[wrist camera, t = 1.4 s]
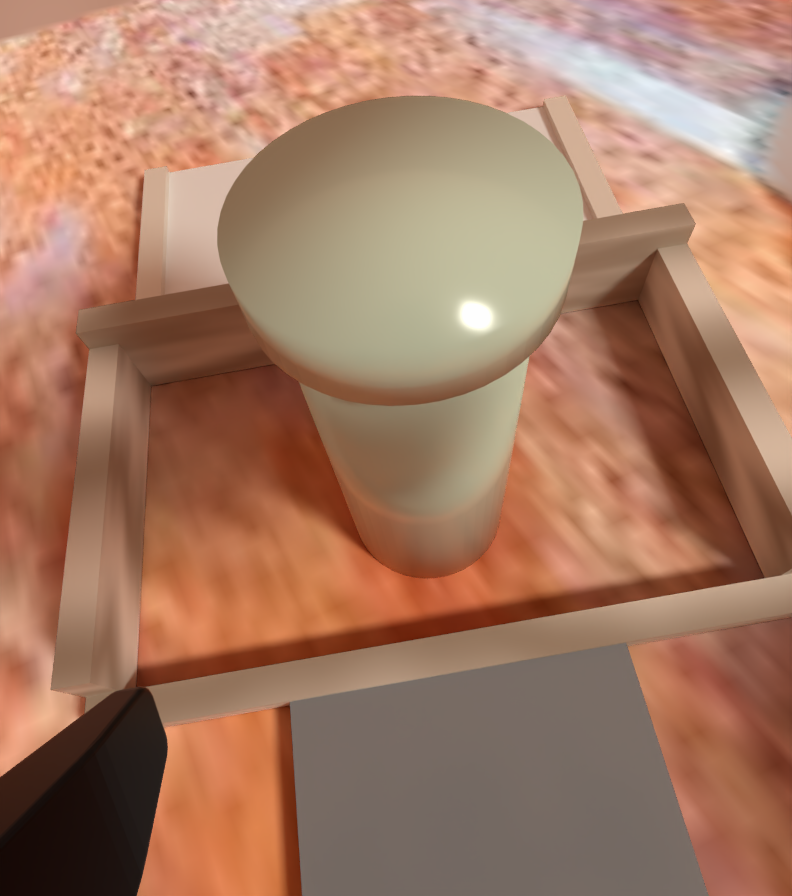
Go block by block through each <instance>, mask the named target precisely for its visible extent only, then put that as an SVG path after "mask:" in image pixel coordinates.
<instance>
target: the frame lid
mask: <svg viewBox="0 0 792 896" xmlns="http://www.w3.org/2000/svg"><path fill="white" fill-rule="evenodd" d="M507 114H510V115H512V116H514V117H516V118H518V119H520V120H522V121H524V122H525V123H527V124H528V125H530V126H531V127H533V128H534V129H536V130H537V131H539V132H540V133H541V134H542V135H544V136H545V137H546V138H547V139H548V140H549V141H551V142H552V143H553V144H554V145H555V147H556V148H557V149H558V150H559V151H560V152H561V153H562V154H563V156H564V157H565V159H566V160H567V162H568V163H569V165H570V166H571V168H572V170H573V171H574V174H575V176H576V179H577V181H578V184H579V186H580V191H581V195H582V200H583V221H585V220H591V219H596V218H602V217H608V216H613V215H619V214H623V213H622V211H621V209H620V207H619V205H618V203H617V200H616V198H615V196H614V194H613V192H612V190H611V188H610V186H609V184H608V182H607V180H606V178H605V176H604V174H603V172H602V169H601V167H600V165H599V163H598V161H597V159H596V157H595V155H594V153H593V151H592V149H591V147H590V145H589V143H588V141H587V138H586V136H585V134H584V132H583V130H582V128H581V126H580V124H579V122H578V120H577V118H576V116H575V114H574V112H573V110H572V107H571V105H570V103H569V101H568V99H567V97H566V96H560V97H554V98H549V99H544V101H543V107H537V108H532V109H526V110H521V111H515V112H509V113H507ZM252 159H253V158H249V159H244V160H238V161H232V162H227V163H221V164H215V165H210V166H204V167H199V168H193V169H187V170H182V171H176V172H169V170H168V168H167V166H165V167H159V168H153V169H148V170H145V172H144V186H143V200H142V214H141V228H140V242H139V256H138V270H137V284H136V298H135V300H138V299H144V298H149V297H155V296H161V295H166V294H172V293H178V292H183V291H189V290H194V289H200V288H206V287H211V286H217V285H223V284H228V281H227V278H226V276H225V273H224V271H223V268H222V265H221V263H220V258H219V252H218V247H217V227H218V222H219V217H220V212H221V209H222V207H223V204H224V201H225V199H226V196H227V194H228V192H229V190H230V189H231V187H232V185H233V183H234V181H235V180H236V179H237V177H238V176H239V175H240V173H241V172H242V171H243V169H244V168H245V167H246V165H247V164H248V163H249V162H250V161H251V160H252Z"/></svg>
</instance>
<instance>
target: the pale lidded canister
mask: <svg viewBox="0 0 792 896" xmlns="http://www.w3.org/2000/svg"><path fill="white" fill-rule="evenodd" d="M582 225H583V200H582V195H581V191H580V186H579V184H578V181H577V179H576V176H575V174H574V171H573V170H572V168H571V166H570V165H569V163H568V162H567V160H566V159H565V157H564V156H563V154H562V153H561V152H560V151H559V150H558V149H557V148H556V147H555V145H554V144H553V143H552V142H551V141H549V140H548V139H547V138H546V137H545V136H544V135H542V134H541V133H540V132H539V131H537V130H536V129H534V128H533V127H531V126H530V125H528V124H527V123H525V122H524V121H522V120H520V119H518V118H516V117H514V116H512V115H510V114H507V113H505V112H503V111H500V110H497V109H494V108H492V107H489V106H486V105H482V104H478V103H474V102H471V101H466V100H460V99H454V98H448V97H435V96H400V97H388V98H381V99H375V100H368V101H363V102H359V103H355V104H351V105H347V106H344V107H341V108H338V109H335V110H332V111H329V112H326V113H323V114H321V115H319V116H316V117H314V118H312V119H309V120H307V121H305V122H303V123H301V124H300V125H298V126H296V127H294V128H292V129H290V130H289V131H287V132H286V133H284V134H283V135H281V136H280V137H278V138H277V139H275V140H274V141H272V142H271V143H270V144H269V145H268V146H266V147H265V148H264V149H263V150H262V151H260V152H259V153H258V154H257V155H256V156H255V157H254V158H253V159H252V160H251V161H250V162H249V163H248V164H247V165H246V167H245V168H244V169H243V171H242V172H241V173H240V175H239V176H238V177H237V179H236V180H235V181H234V183H233V185H232V187H231V189H230V190H229V192H228V194H227V196H226V199H225V201H224V204H223V207H222V209H221V212H220V217H219V222H218V227H217V247H218V252H219V258H220V263H221V265H222V268H223V271H224V273H225V276H226V278H227V281H228V283H229V285H230V287H231V289H232V291H233V294H234V296H235V298H236V300H237V302H238V304H239V307H240V309H241V311H242V313H243V315H244V318H245V320H246V322H247V324H248V326H249V328H250V331H251V333H252V334H253V336H254V338H255V339H256V341H257V343H258V345H259V346H260V348H261V349H262V350H263V351H264V353H265V354H266V355H267V356H268V357H269V358H270V360H271V361H272V362H273V363H274V364H276V365H277V366H278V367H279V368H280V369H281V370H283V371H284V372H285V373H286V374H287V375H289V376H291V377H292V378H294V379H295V380H297V381H298V382H299V384H300V387H301V389H302V392H303V395H304V397H305V400H306V402H307V405H308V407H309V410H310V412H311V415H312V417H313V420H314V422H315V425H316V427H317V430H318V432H319V435H320V437H321V440H322V442H323V445H324V447H325V450H326V452H327V455H328V457H329V460H330V462H331V465H332V468H333V470H334V473H335V475H336V478H337V480H338V483H339V485H340V488H341V490H342V493H343V495H344V498H345V500H346V503H347V505H348V508H349V510H350V513H351V515H352V518H353V520H354V523H355V525H356V528H357V530H358V533H359V535H360V538H361V540H362V542H363V543H364V545H365V547H366V548H367V549H368V551H369V552H370V553H371V555H373V556H374V557H375V558H376V559H377V560H378V561H379V562H380V563H382V564H383V565H384V566H386V567H387V568H389V569H391V570H393V571H395V572H397V573H400V574H403V575H406V576H410V577H415V578H438V577H444V576H448V575H451V574H454V573H457V572H459V571H461V570H463V569H465V568H467V567H468V566H470V565H472V564H473V563H474V562H475V561H477V560H478V559H479V558H480V557H481V556H482V555H483V554H484V553H485V552H486V551H487V549H488V548H489V546H490V545H491V544H492V542H493V540H494V538H495V536H496V533H497V530H498V528H499V523H500V519H501V513H502V507H503V502H504V496H505V490H506V485H507V479H508V474H509V468H510V462H511V457H512V451H513V445H514V440H515V434H516V428H517V423H518V417H519V411H520V406H521V400H522V395H523V389H524V383H525V378H526V372H527V366H528V361H529V356H530V355H531V354H532V353H533V352H534V351H535V350H536V349H537V348H538V347H539V346H540V345H541V344H542V342H543V341H544V340H545V339H546V337H547V336H548V335H549V333H550V332H551V330H552V329H553V327H554V325H555V323H556V322H557V320H558V318H559V316H560V314H561V311H562V309H563V306H564V303H565V300H566V297H567V293H568V288H569V284H570V280H571V275H572V271H573V267H574V263H575V258H576V254H577V250H578V245H579V241H580V236H581V231H582Z"/></svg>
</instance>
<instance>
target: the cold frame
mask: <svg viewBox="0 0 792 896" xmlns="http://www.w3.org/2000/svg"><path fill="white" fill-rule="evenodd" d="M695 224H696V223H695V222H694V220H693V218H692V216H691V215H690V213H689V211H688V209H687V207H686V206H685V204H684V203H681V204H676V205H670V206H664V207H659V208H653V209H647V210H642V211H636V212H630V213H625V214H619V215H613V216H608V217H602V218H596V219H591V220H585V221H583V225H582V231H581V236H580V241H579V245H578V250H577V254H576V258H575V263H574V267H573V271H572V275H571V280H570V284H569V288H568V293H567V297H566V300H565V303H564V306H563V309H562V311H561V313H567V312H573V311H578V310H584V309H590V308H595V307H601V306H607V305H612V304H618V303H624V302H629V301H635V300H638V301H639V303H640V306H641V308H642V310H643V312H644V314H645V316H646V319H647V321H648V323H649V325H650V327H651V330H652V332H653V334H654V336H655V338H656V341H657V343H658V345H659V347H660V349H661V352H662V354H663V356H664V358H665V360H666V363H667V365H668V367H669V369H670V371H671V374H672V376H673V378H674V380H675V382H676V384H677V387H678V389H679V391H680V393H681V395H682V398H683V400H684V402H685V404H686V406H687V409H688V411H689V413H690V415H691V417H692V420H693V422H694V424H695V426H696V428H697V431H698V433H699V435H700V437H701V439H702V442H703V444H704V446H705V448H706V450H707V452H708V455H709V457H710V459H711V461H712V463H713V466H714V468H715V470H716V472H717V474H718V477H719V479H720V481H721V483H722V485H723V488H724V490H725V492H726V494H727V496H728V499H729V501H730V503H731V505H732V507H733V509H734V512H735V514H736V516H737V518H738V520H739V523H740V525H741V527H742V529H743V531H744V534H745V536H746V538H747V540H748V542H749V545H750V547H751V549H752V551H753V553H754V556H755V558H756V560H757V562H758V564H759V567H760V569H761V571H762V573H763V575H764V577H765V578H764V579H758V580H752V581H747V582H741V583H735V584H730V585H724V586H718V587H712V588H707V589H701V590H695V591H690V592H684V593H678V594H673V595H667V596H661V597H655V598H650V599H644V600H638V601H633V602H627V603H621V604H616V605H610V606H604V607H598V608H593V609H587V610H581V611H576V612H570V613H564V614H559V615H553V616H547V617H541V618H536V619H530V620H524V621H519V622H513V623H507V624H502V625H496V626H490V627H484V628H479V629H473V630H467V631H462V632H456V633H450V634H445V635H439V636H433V637H427V638H422V639H416V640H410V641H405V642H399V643H393V644H388V645H382V646H376V647H370V648H365V649H359V650H353V651H348V652H342V653H336V654H331V655H325V656H319V657H313V658H308V659H302V660H296V661H291V662H285V663H279V664H274V665H268V666H262V667H256V668H251V669H245V670H239V671H234V672H228V673H222V674H217V675H211V676H205V677H199V678H194V679H188V680H182V681H177V682H171V683H165V684H160V685H154V686H148V687H146V688H148V689H149V690H150V692H151V693H152V695H153V698H154V701H155V704H156V707H157V710H158V712H159V715H160V718H161V721H162V724H163V727H169V726H175V725H181V724H186V723H192V722H198V721H203V720H209V719H215V718H221V717H226V716H232V715H238V714H243V713H249V712H255V711H260V710H266V709H272V708H278V707H283V706H289V705H290V702H292V701H297V700H303V699H309V698H314V697H320V696H326V695H331V694H337V693H343V692H349V691H354V690H360V689H366V688H371V687H377V686H383V685H389V684H394V683H400V682H406V681H411V680H417V679H423V678H428V677H434V676H440V675H446V674H451V673H457V672H463V671H468V670H474V669H480V668H485V667H491V666H497V665H503V664H508V663H514V662H520V661H525V660H531V659H537V658H542V657H548V656H554V655H560V654H565V653H571V652H577V651H582V650H588V649H594V648H600V647H605V646H611V645H617V644H622V643H626V644H627V646H631V645H637V644H643V643H648V642H654V641H660V640H665V639H671V638H677V637H683V636H688V635H694V634H700V633H705V632H711V631H717V630H722V629H728V628H734V627H740V626H745V625H751V624H757V623H762V622H768V621H774V620H779V619H785V618H791V617H792V437H791V435H790V434H789V432H788V430H787V428H786V426H785V424H784V422H783V421H782V419H781V417H780V415H779V413H778V411H777V409H776V408H775V406H774V404H773V402H772V400H771V398H770V396H769V395H768V393H767V391H766V389H765V387H764V385H763V383H762V382H761V380H760V378H759V376H758V374H757V372H756V370H755V369H754V367H753V365H752V363H751V361H750V359H749V357H748V356H747V354H746V352H745V350H744V348H743V346H742V345H741V343H740V341H739V339H738V337H737V335H736V333H735V332H734V330H733V328H732V326H731V324H730V322H729V320H728V319H727V317H726V315H725V313H724V311H723V309H722V307H721V306H720V304H719V302H718V300H717V298H716V296H715V294H714V293H713V291H712V289H711V287H710V285H709V283H708V281H707V280H706V278H705V276H704V274H703V272H702V270H701V268H700V267H699V265H698V263H697V261H696V259H695V257H694V256H693V254H692V252H691V250H690V248H689V246H688V244H687V243H688V240H689V238H690V236H691V234H692V231H693V229H694V227H695ZM76 334H77V335H78V337H79V338H80V339H81V340H82V341H83V342H84V344H85V345H86V346H87V347H88V348H89V356H88V365H87V374H86V382H85V391H84V400H83V409H82V418H81V426H80V435H79V444H78V453H77V462H76V470H75V479H74V488H73V497H72V506H71V514H70V523H69V532H68V541H67V550H66V558H65V567H64V576H63V585H62V594H61V602H60V611H59V620H58V629H57V638H56V646H55V655H54V664H53V673H52V682H51V690H53V691H58V692H63V693H67V694H72V695H77V696H82V697H86V702H85V713H86V712H87V711H89V710H90V709H91V708H93V707H94V706H95V705H97V704H98V703H99V702H101V701H102V700H103V699H105V698H106V697H107V696H109V695H110V694H111V693H113V692H115V691H118V690H123V689H129V688H135V687H136V680H137V660H138V640H139V620H140V600H141V580H142V560H143V540H144V520H145V500H146V480H147V460H148V440H149V420H150V400H151V386H153V385H159V384H164V383H170V382H176V381H181V380H187V379H193V378H198V377H204V376H210V375H215V374H221V373H227V372H232V371H238V370H244V369H249V368H255V367H261V366H266V365H272V364H274V363H273V362H272V361H271V360H270V358H269V357H268V356H267V355H266V354H265V353H264V351H263V350H262V349H261V348H260V346H259V345H258V343H257V341H256V339H255V338H254V336H253V334H252V333H251V331H250V328H249V326H248V324H247V322H246V320H245V318H244V315H243V313H242V311H241V309H240V307H239V304H238V302H237V300H236V298H235V296H234V294H233V291H232V289H231V287H230V285H229V283H228V284H223V285H217V286H211V287H206V288H200V289H194V290H189V291H183V292H178V293H172V294H166V295H161V296H155V297H149V298H144V299H138V300H132V301H127V302H121V303H115V304H110V305H104V306H98V307H93V308H87V309H81V310H79V312H78V320H77V327H76Z"/></svg>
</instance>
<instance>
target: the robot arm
mask: <svg viewBox="0 0 792 896" xmlns="http://www.w3.org/2000/svg"><path fill="white" fill-rule="evenodd" d="M167 750H168V746H167V737H166V733H165V730H164V727H163V724H162V721H161V718H160V715H159V712H158V710H157V707H156V704H155V701H154V698H153V695H152V693H151V692H150V690H149V689H148V688H146V687H144V686H141V687H135V688H129V689H123V690H118V691H115V692H113V693H111V694H110V695H109V696H107V697H106V698H105V699H103V700H102V701H101V702H99V703H98V704H97V705H95V706H94V707H93V708H91V709H90V710H89V711H87V712H86V713H85V714H83V715H82V716H81V717H80V718H78V719H77V720H76V721H74V722H73V723H72V724H70V725H69V726H68V727H66V728H65V729H64V730H62V731H61V732H60V733H58V734H57V735H56V736H54V737H53V738H52V739H50V740H49V741H48V742H46V743H45V744H44V745H42V746H41V747H40V748H38V749H37V750H36V751H34V752H33V753H32V754H30V755H29V756H28V757H27V758H25V759H24V760H23V761H21V762H20V763H19V764H17V765H16V766H15V767H13V768H12V769H11V770H9V771H8V772H7V773H5V774H4V775H3V776H1V777H0V896H137V892H138V889H139V885H140V882H141V878H142V874H143V870H144V866H145V861H146V857H147V852H148V847H149V842H150V837H151V832H152V828H153V823H154V818H155V813H156V808H157V803H158V798H159V793H160V788H161V783H162V778H163V773H164V768H165V763H166V758H167Z"/></svg>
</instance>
